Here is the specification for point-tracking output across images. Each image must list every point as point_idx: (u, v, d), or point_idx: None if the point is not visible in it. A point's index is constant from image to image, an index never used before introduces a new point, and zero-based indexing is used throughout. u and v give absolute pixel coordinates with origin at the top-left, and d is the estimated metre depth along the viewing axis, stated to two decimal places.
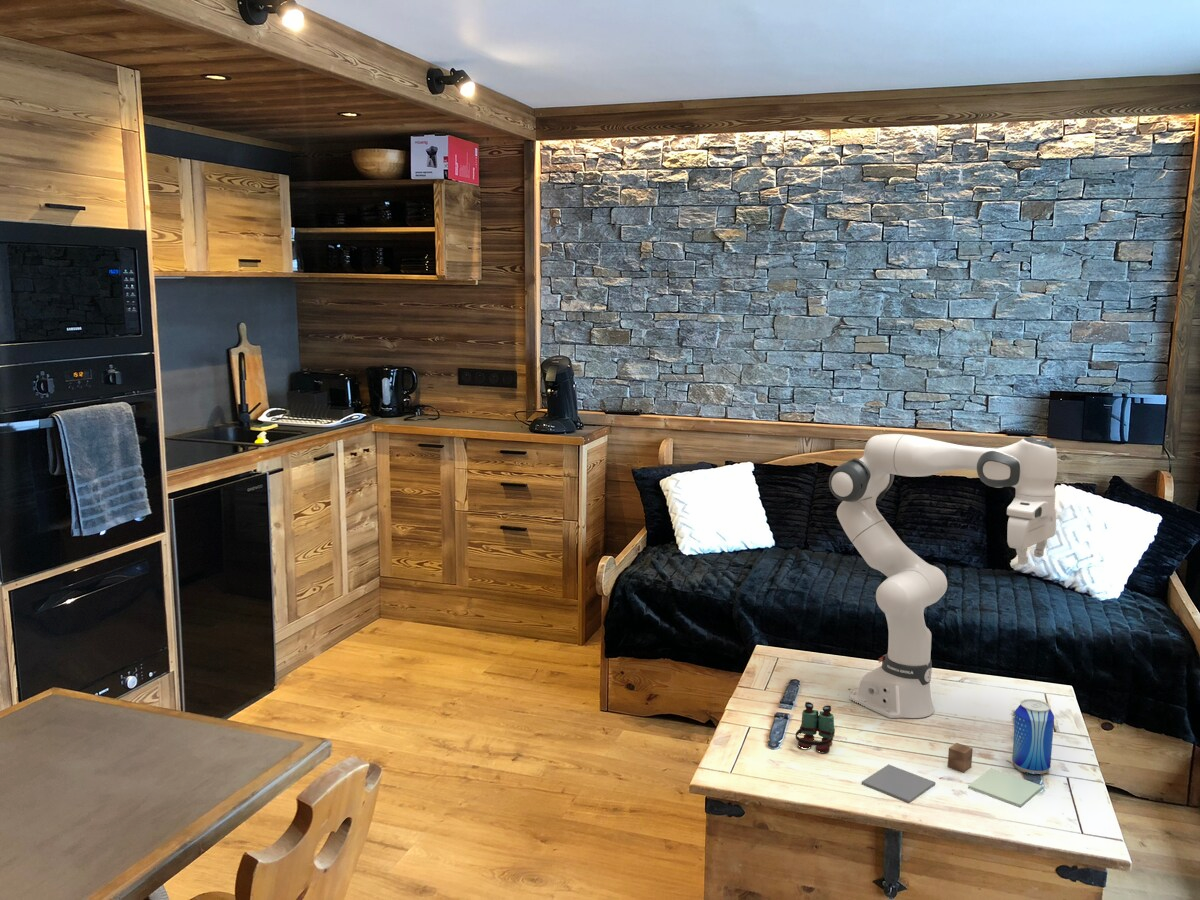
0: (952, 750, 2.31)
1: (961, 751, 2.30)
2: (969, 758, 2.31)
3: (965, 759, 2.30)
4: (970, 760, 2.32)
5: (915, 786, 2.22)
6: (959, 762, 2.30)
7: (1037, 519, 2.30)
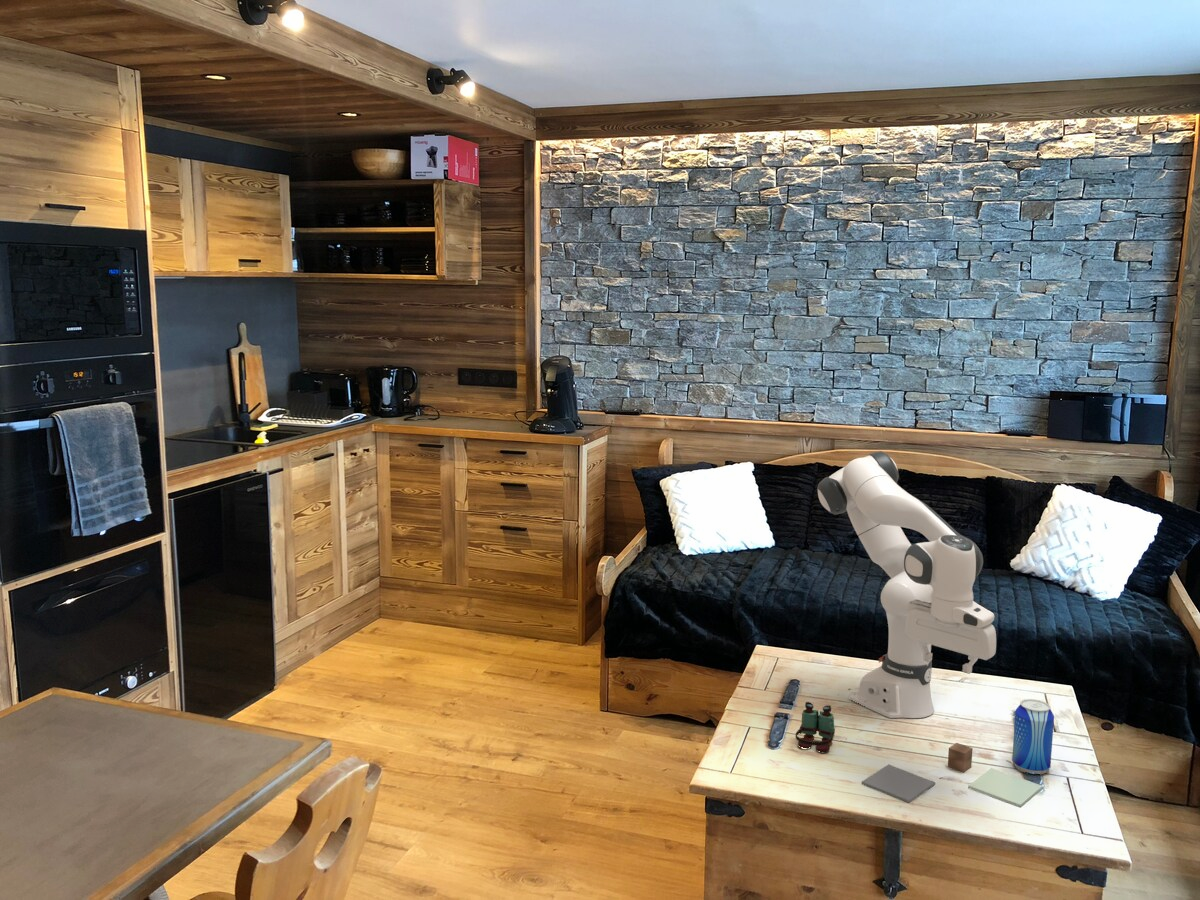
0: (952, 750, 2.31)
1: (961, 751, 2.30)
2: (969, 758, 2.31)
3: (965, 759, 2.30)
4: (970, 760, 2.32)
5: (915, 786, 2.22)
6: (959, 762, 2.30)
7: None
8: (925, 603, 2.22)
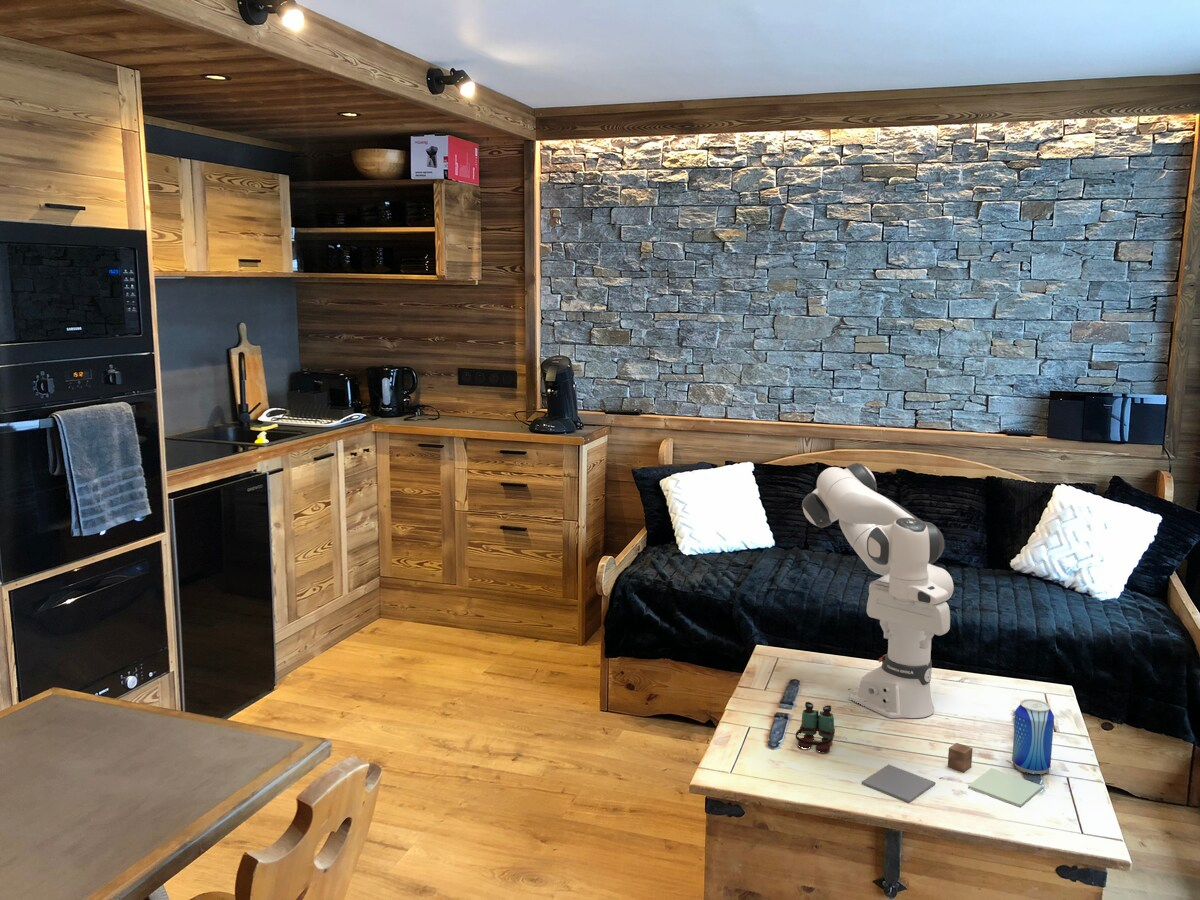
0: (952, 750, 2.31)
1: (961, 751, 2.30)
2: (969, 758, 2.31)
3: (965, 759, 2.30)
4: (970, 760, 2.32)
5: (915, 786, 2.22)
6: (959, 762, 2.30)
7: None
8: (884, 583, 2.33)
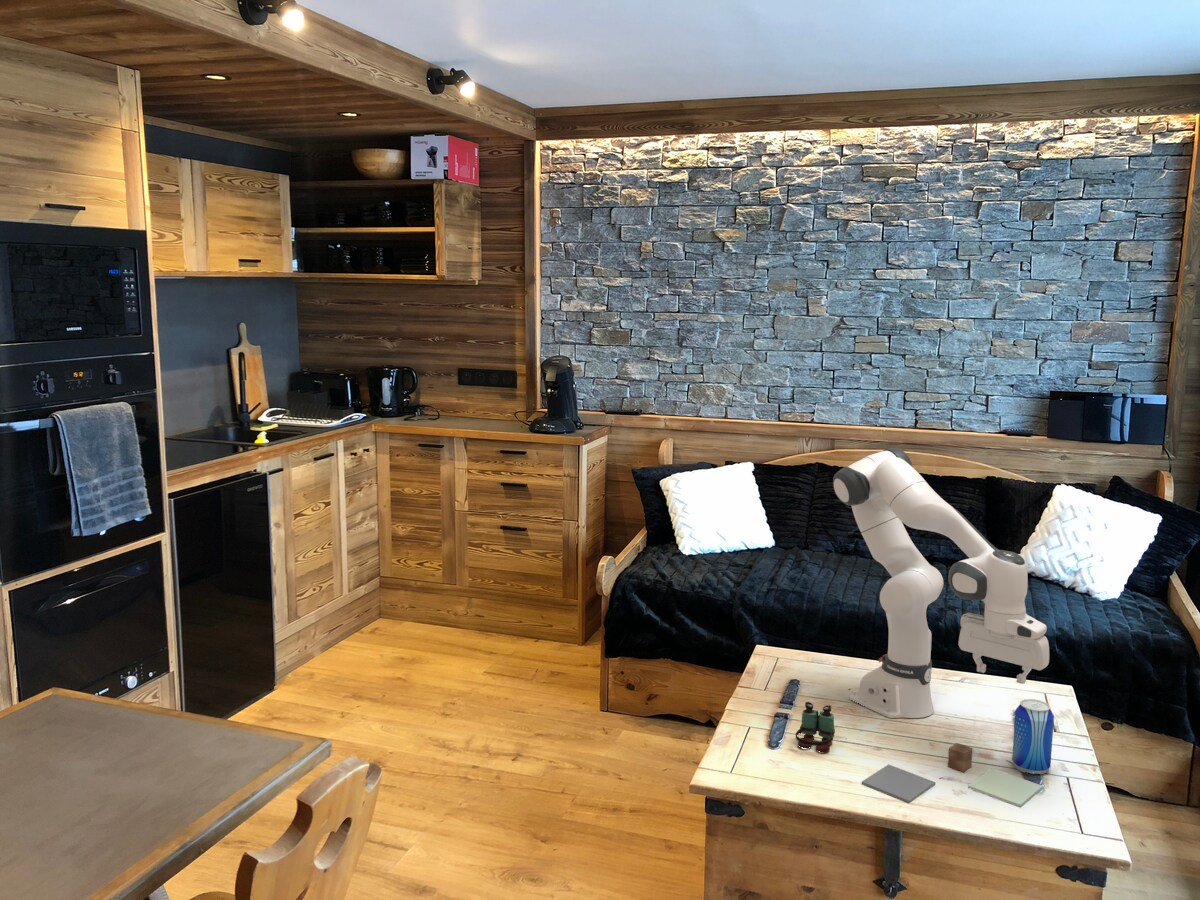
0: (952, 750, 2.31)
1: (961, 751, 2.30)
2: (969, 758, 2.31)
3: (965, 759, 2.30)
4: (970, 760, 2.32)
5: (915, 786, 2.22)
6: (959, 762, 2.30)
7: None
8: (978, 616, 2.30)
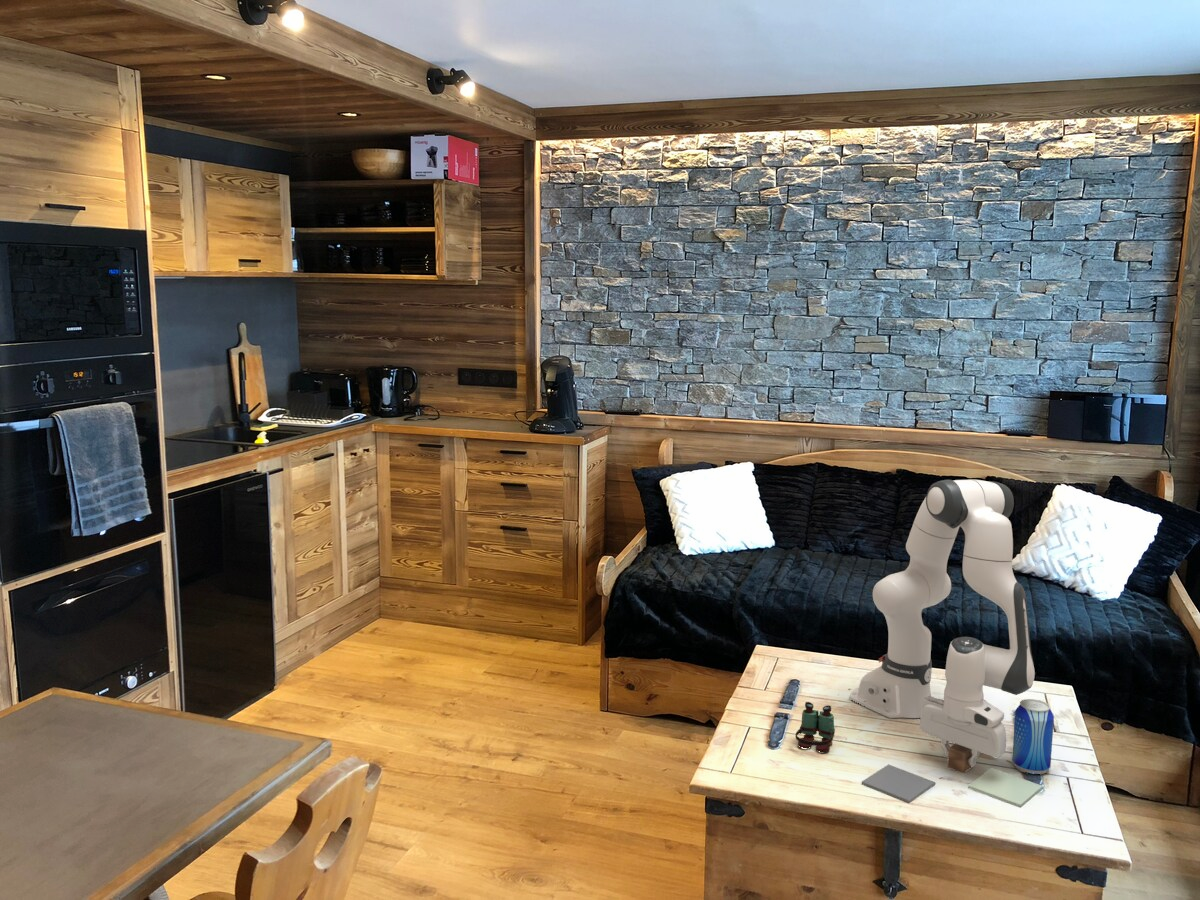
0: (952, 750, 2.31)
1: (961, 751, 2.30)
2: None
3: (965, 759, 2.30)
4: None
5: (915, 786, 2.22)
6: (959, 761, 2.30)
7: None
8: (938, 700, 2.34)
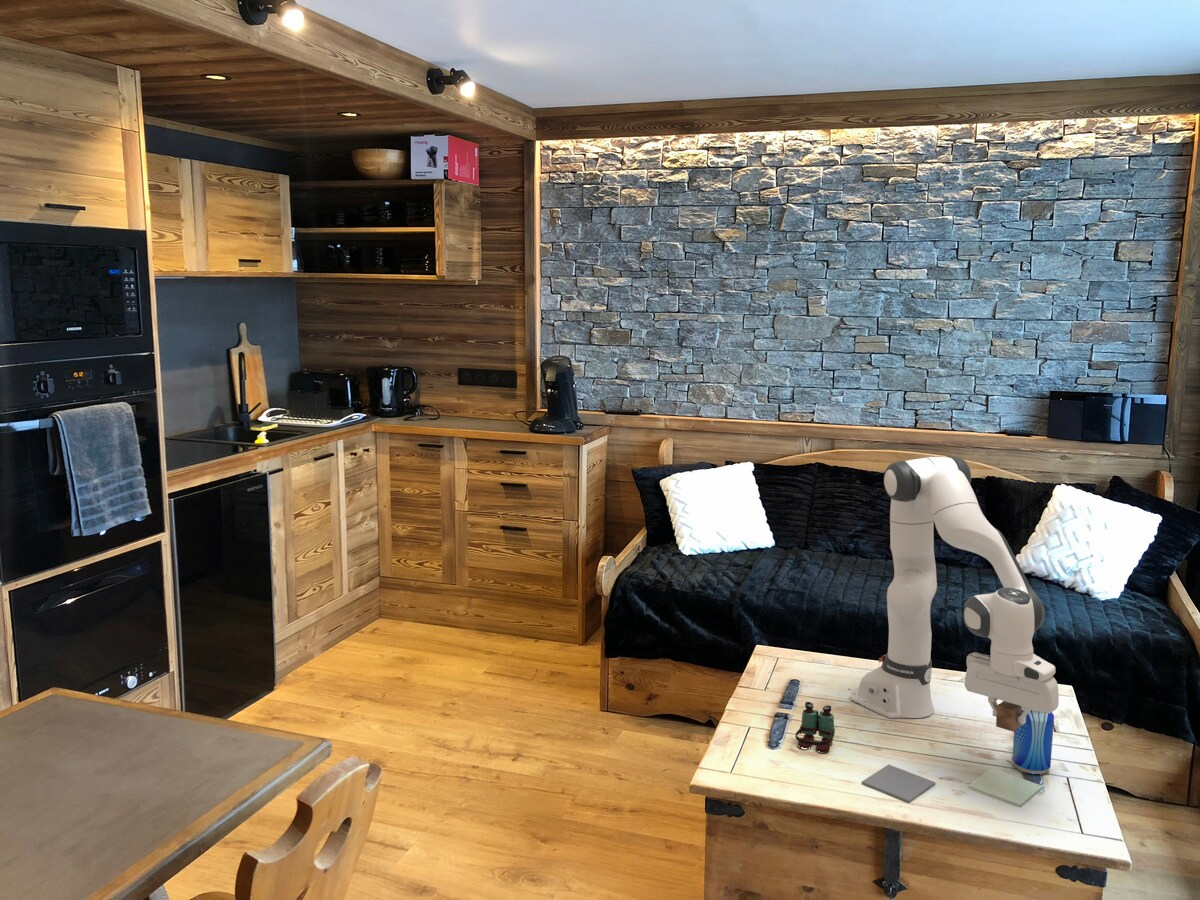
0: (1000, 708, 2.19)
1: (1011, 708, 2.17)
2: None
3: (1014, 717, 2.17)
4: None
5: (915, 786, 2.22)
6: (1008, 720, 2.18)
7: None
8: (984, 656, 2.22)
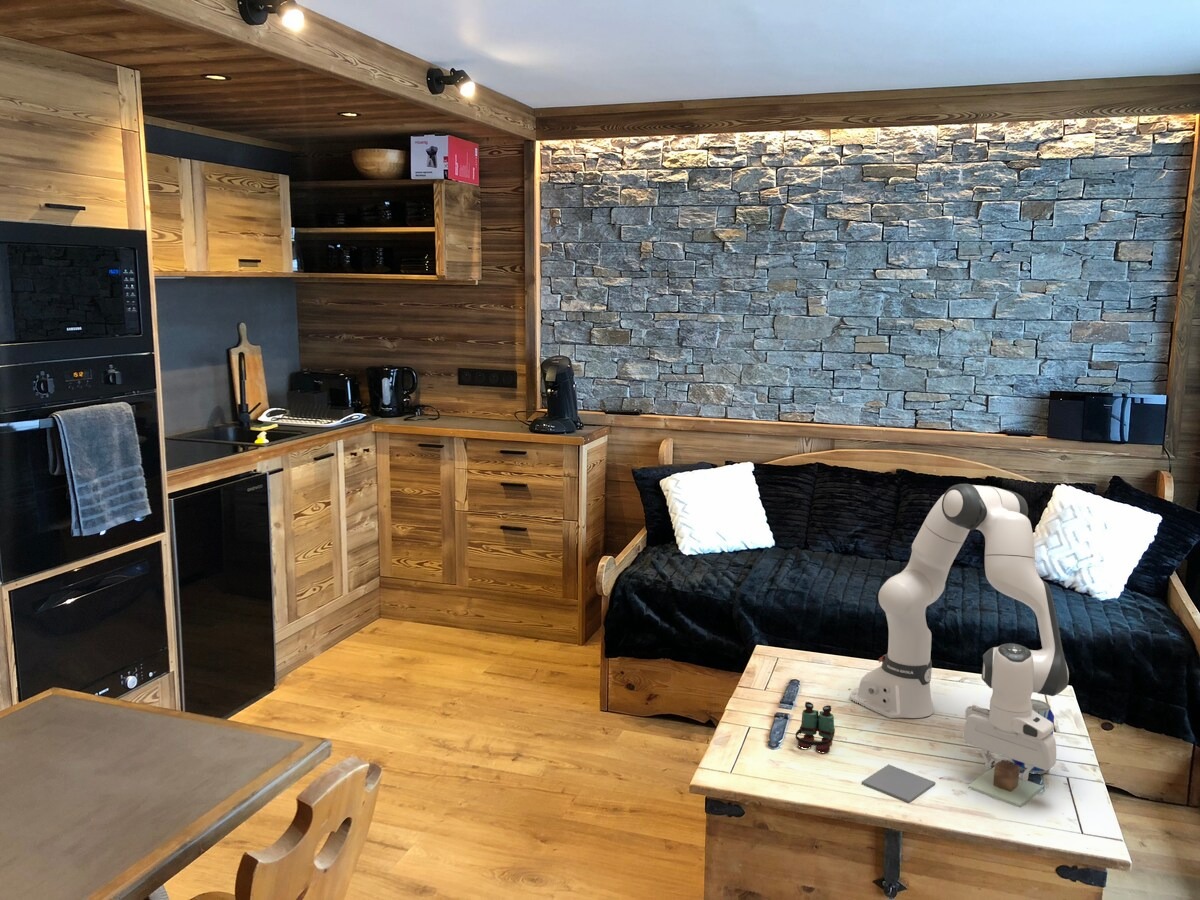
0: (998, 768, 2.21)
1: (1008, 769, 2.20)
2: (1016, 776, 2.21)
3: (1012, 777, 2.19)
4: (1017, 778, 2.21)
5: (915, 786, 2.22)
6: (1005, 780, 2.20)
7: None
8: (983, 710, 2.24)
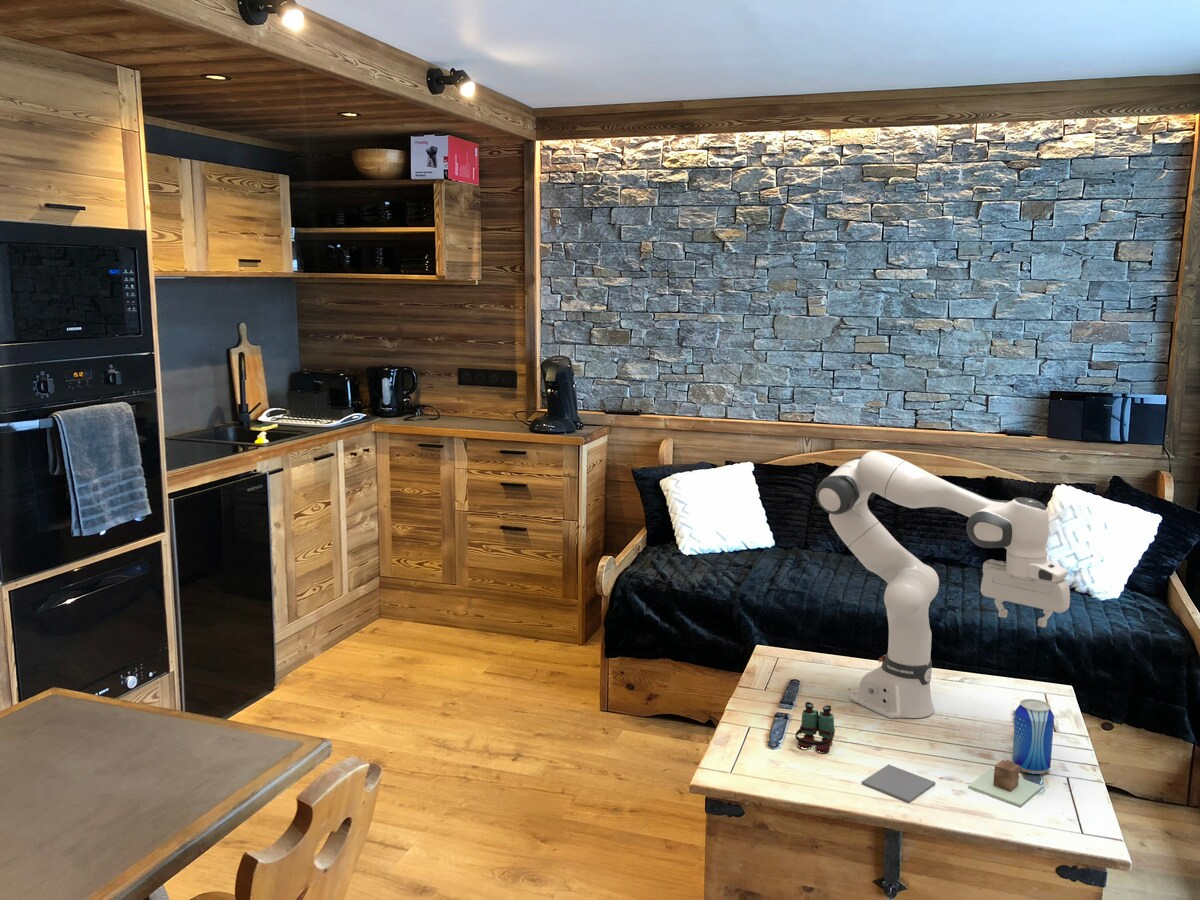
0: (998, 768, 2.21)
1: (1008, 769, 2.20)
2: (1016, 776, 2.21)
3: (1012, 777, 2.19)
4: (1017, 778, 2.21)
5: (915, 786, 2.22)
6: (1005, 780, 2.20)
7: None
8: (1000, 562, 2.36)
